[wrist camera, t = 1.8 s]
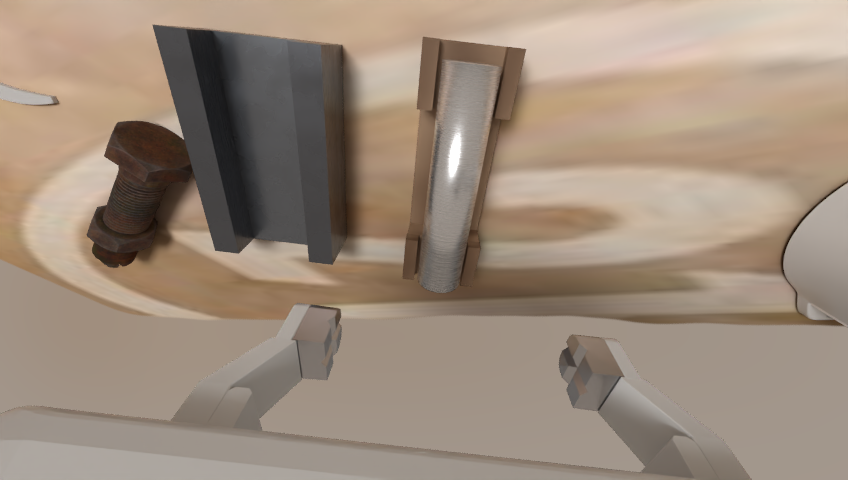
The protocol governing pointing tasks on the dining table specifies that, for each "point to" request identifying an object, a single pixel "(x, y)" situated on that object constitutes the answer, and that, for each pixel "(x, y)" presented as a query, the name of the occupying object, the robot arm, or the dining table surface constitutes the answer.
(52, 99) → the pliers
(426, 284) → the axle
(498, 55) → the beam
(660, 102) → the dining table surface
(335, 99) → the v block
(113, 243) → the bolt
